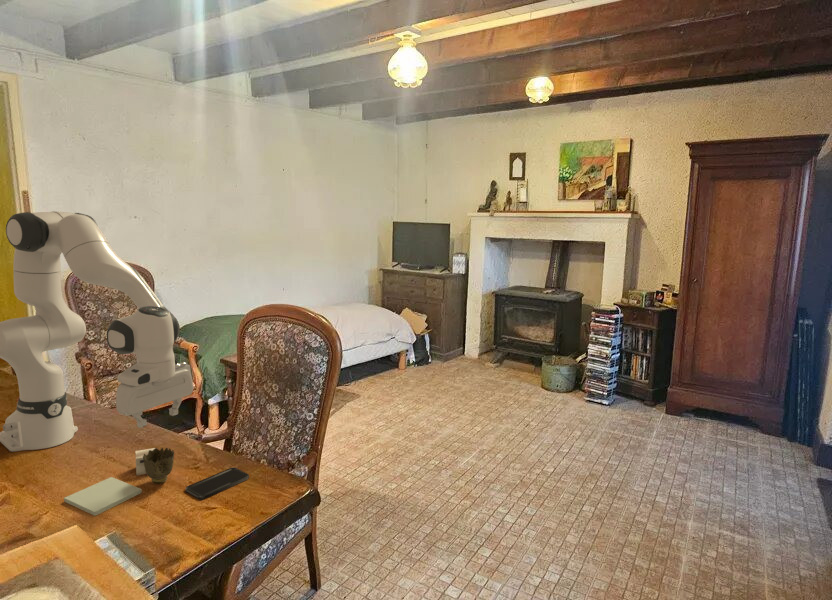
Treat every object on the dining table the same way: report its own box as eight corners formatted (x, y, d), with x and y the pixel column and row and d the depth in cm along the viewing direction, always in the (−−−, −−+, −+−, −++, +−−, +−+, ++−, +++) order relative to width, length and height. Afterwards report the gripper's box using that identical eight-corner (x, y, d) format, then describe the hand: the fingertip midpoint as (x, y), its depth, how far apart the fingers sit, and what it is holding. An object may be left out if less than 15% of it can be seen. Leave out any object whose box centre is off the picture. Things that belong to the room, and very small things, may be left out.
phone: (183, 487, 133) (233, 466, 145) (183, 491, 133) (233, 470, 146) (201, 498, 129) (250, 475, 141) (201, 502, 129) (250, 479, 141)
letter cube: (136, 467, 144) (135, 451, 143) (155, 464, 146) (155, 447, 145) (136, 476, 139) (135, 458, 138) (157, 472, 142) (156, 455, 141)
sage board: (64, 501, 125) (64, 497, 125) (111, 480, 136) (111, 476, 136) (94, 515, 120) (94, 512, 120) (141, 492, 131) (141, 489, 131)
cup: (162, 490, 133) (161, 461, 131) (137, 486, 134) (136, 457, 133) (180, 476, 140) (180, 449, 139) (157, 473, 141) (156, 445, 140)
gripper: (181, 358, 143) (183, 406, 145) (110, 377, 124) (113, 431, 126) (197, 362, 140) (199, 410, 142) (127, 381, 122) (130, 436, 124)
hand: (158, 420), depth 134 cm, fingers open, 8 cm apart
